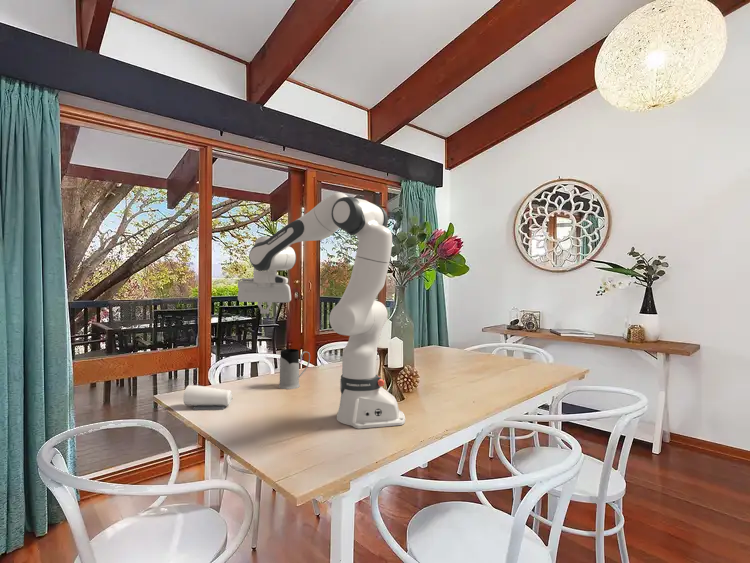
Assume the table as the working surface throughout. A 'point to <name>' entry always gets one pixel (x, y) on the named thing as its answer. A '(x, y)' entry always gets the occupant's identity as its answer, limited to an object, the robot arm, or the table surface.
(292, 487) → the table surface
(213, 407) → the mat
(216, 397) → the drinking glass
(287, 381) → the grey mug
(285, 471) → the table surface
